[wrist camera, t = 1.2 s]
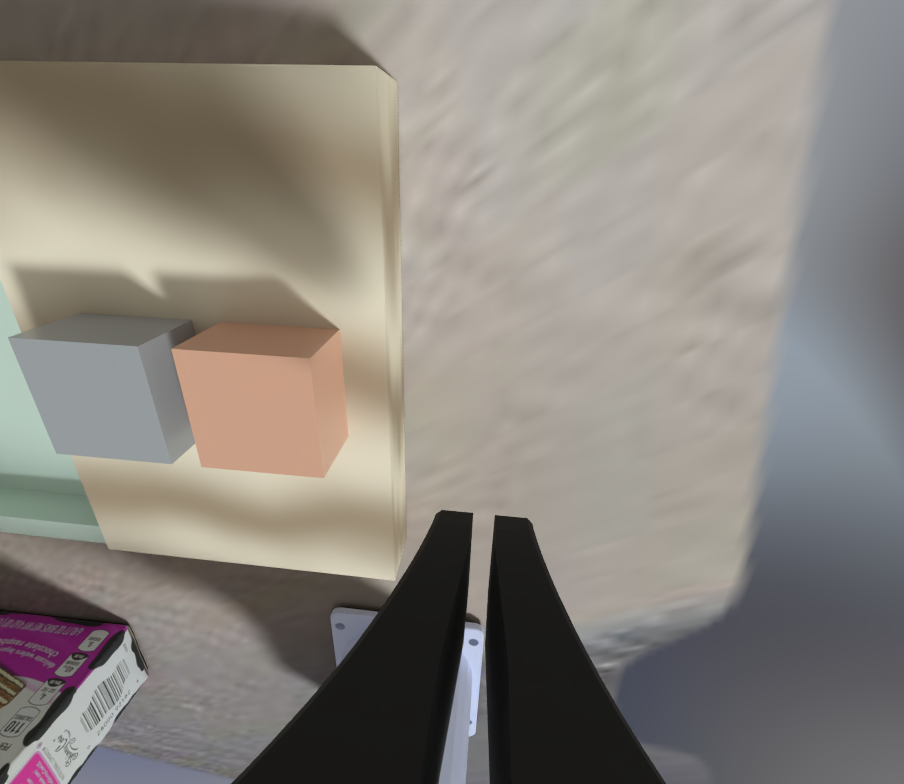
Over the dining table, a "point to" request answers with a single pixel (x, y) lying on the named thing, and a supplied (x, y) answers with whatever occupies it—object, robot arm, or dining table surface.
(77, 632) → the candy bar box
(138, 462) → the birch plate
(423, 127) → the dining table surface
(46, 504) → the sage tray
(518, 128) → the dining table surface
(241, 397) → the terracotta block
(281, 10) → the dining table surface
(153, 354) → the slate-grey block
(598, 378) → the dining table surface
